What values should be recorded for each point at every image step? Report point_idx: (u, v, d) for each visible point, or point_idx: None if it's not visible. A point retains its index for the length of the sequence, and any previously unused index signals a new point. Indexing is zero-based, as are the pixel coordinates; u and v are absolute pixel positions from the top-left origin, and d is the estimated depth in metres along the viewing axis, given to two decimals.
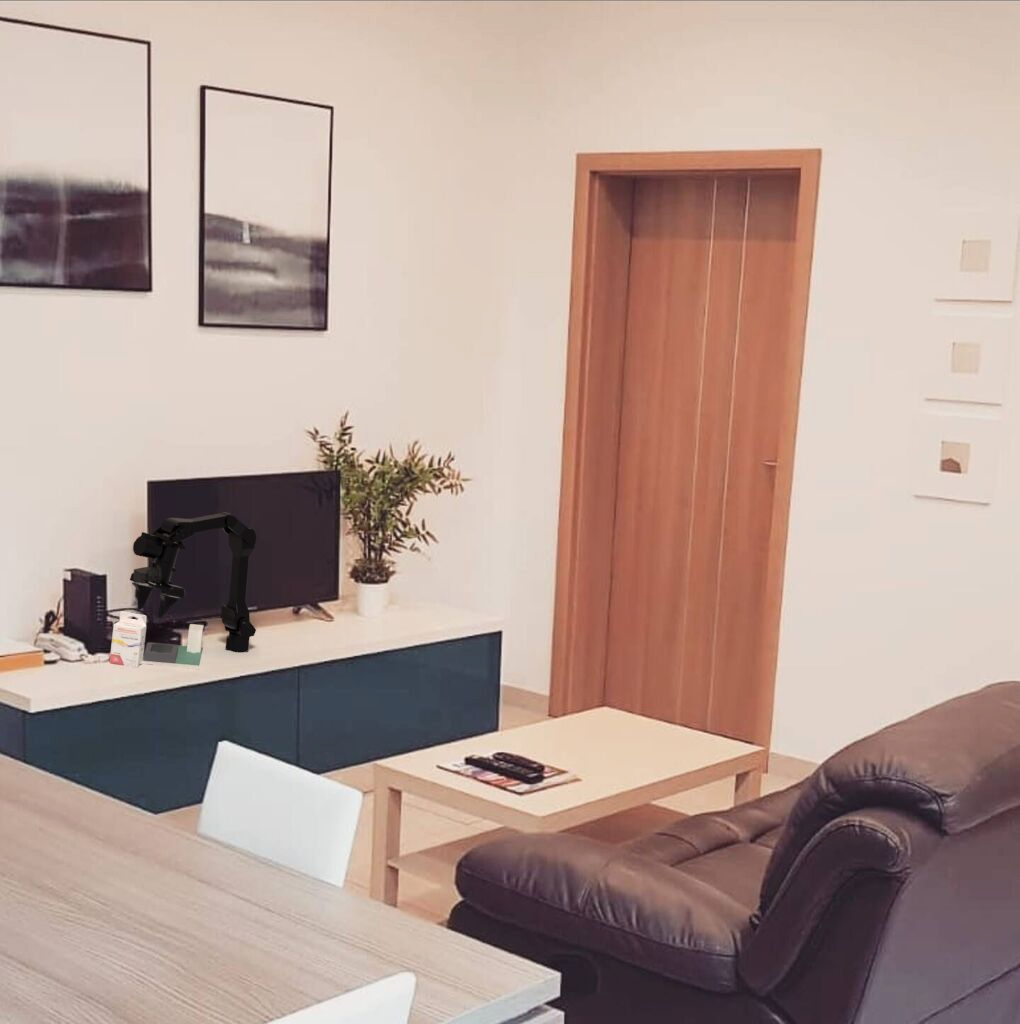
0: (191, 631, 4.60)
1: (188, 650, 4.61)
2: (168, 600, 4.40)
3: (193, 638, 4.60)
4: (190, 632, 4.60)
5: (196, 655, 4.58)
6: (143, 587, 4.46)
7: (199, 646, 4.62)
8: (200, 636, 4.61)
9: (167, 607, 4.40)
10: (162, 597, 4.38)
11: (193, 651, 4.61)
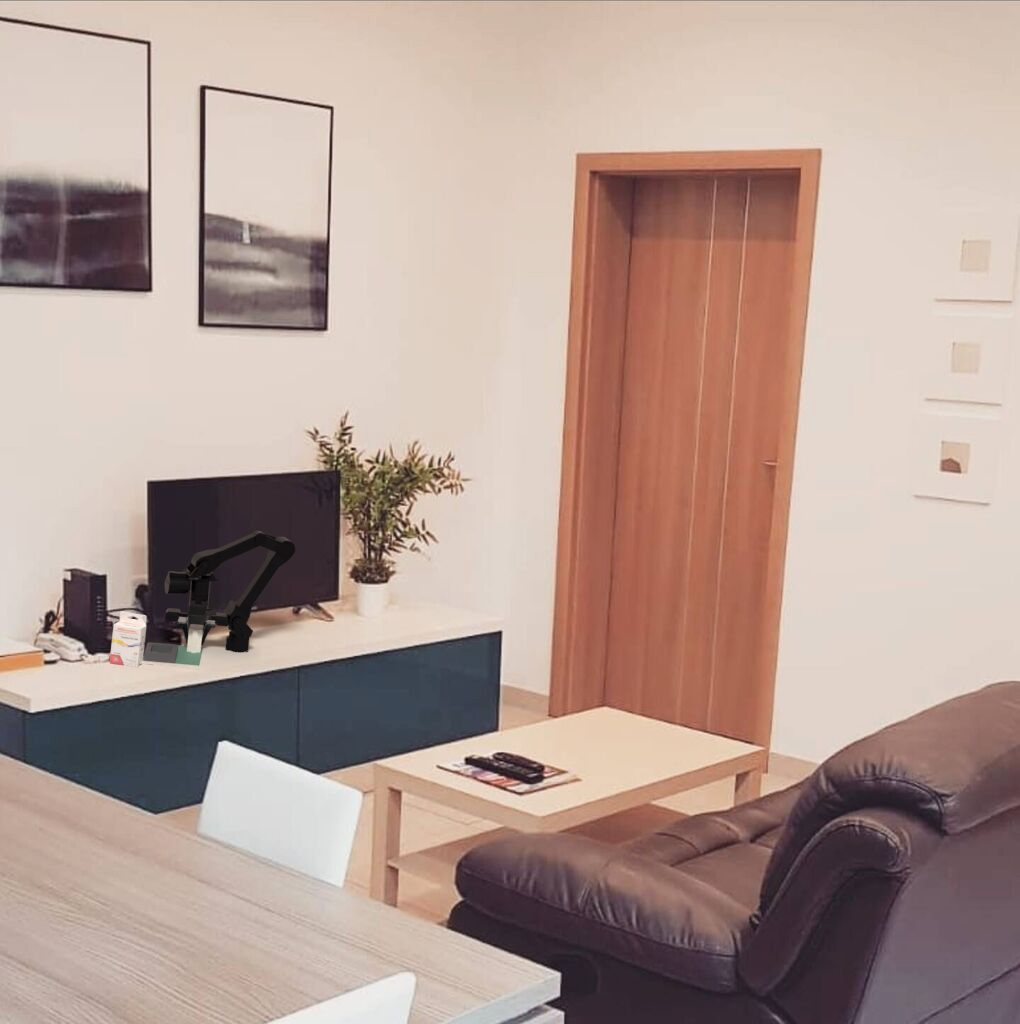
0: (191, 631, 4.60)
1: (188, 650, 4.61)
2: None
3: (193, 638, 4.60)
4: (190, 632, 4.60)
5: (196, 655, 4.58)
6: (187, 623, 4.62)
7: (199, 646, 4.62)
8: (200, 636, 4.61)
9: None
10: (208, 628, 4.62)
11: (193, 651, 4.61)
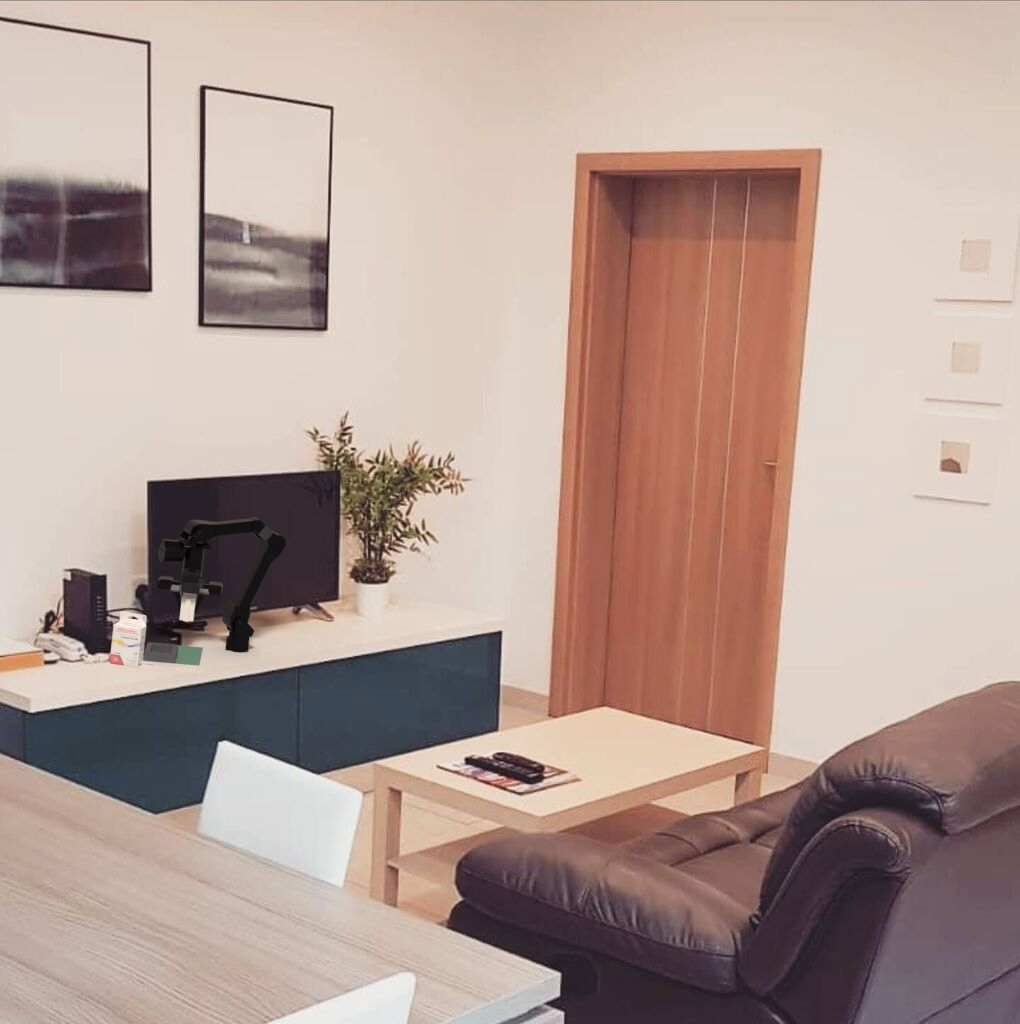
0: (184, 599, 4.55)
1: (181, 619, 4.56)
2: None
3: (186, 606, 4.55)
4: (183, 600, 4.55)
5: (196, 655, 4.58)
6: (180, 592, 4.57)
7: (192, 615, 4.56)
8: (193, 605, 4.56)
9: None
10: (201, 596, 4.57)
11: (186, 620, 4.55)
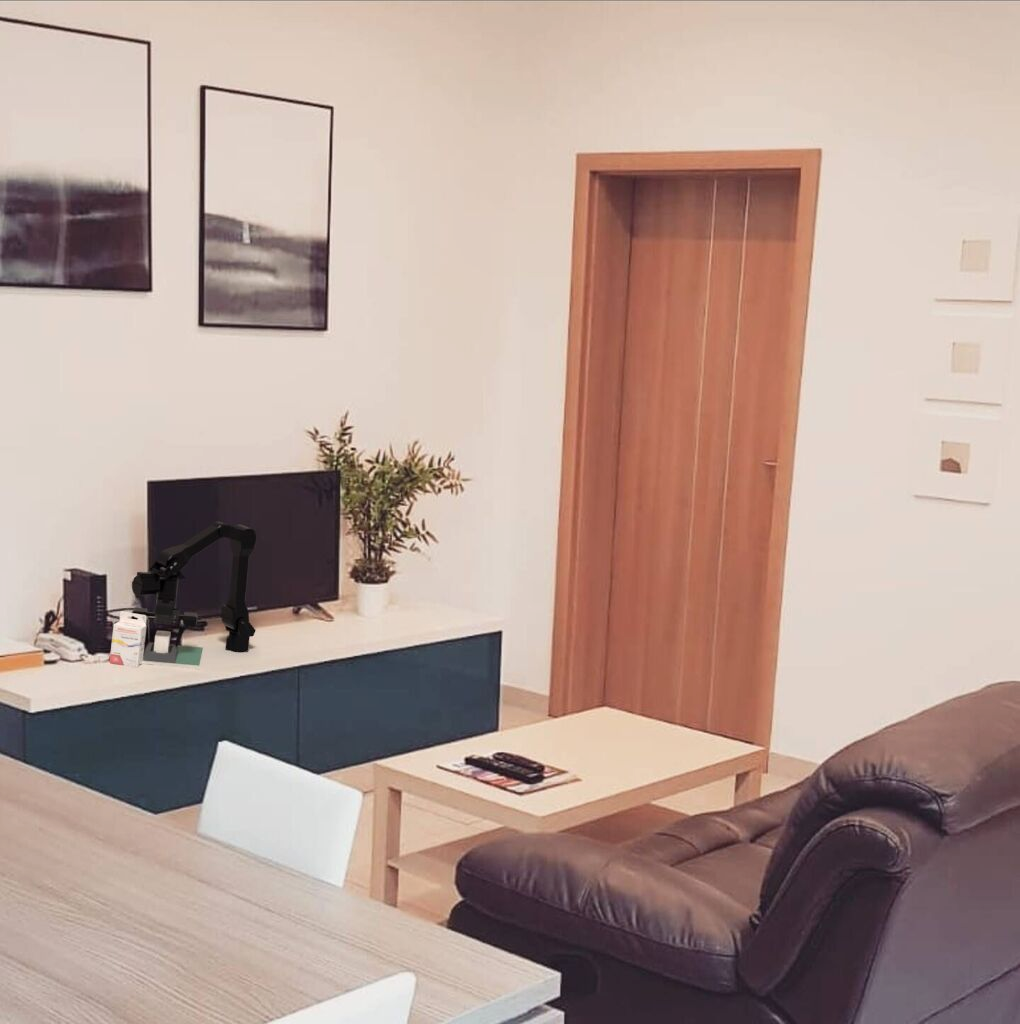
0: (157, 638, 4.48)
1: None
2: None
3: (159, 645, 4.48)
4: (156, 639, 4.48)
5: (196, 655, 4.58)
6: (148, 622, 4.50)
7: None
8: (167, 643, 4.49)
9: None
10: (182, 628, 4.50)
11: None
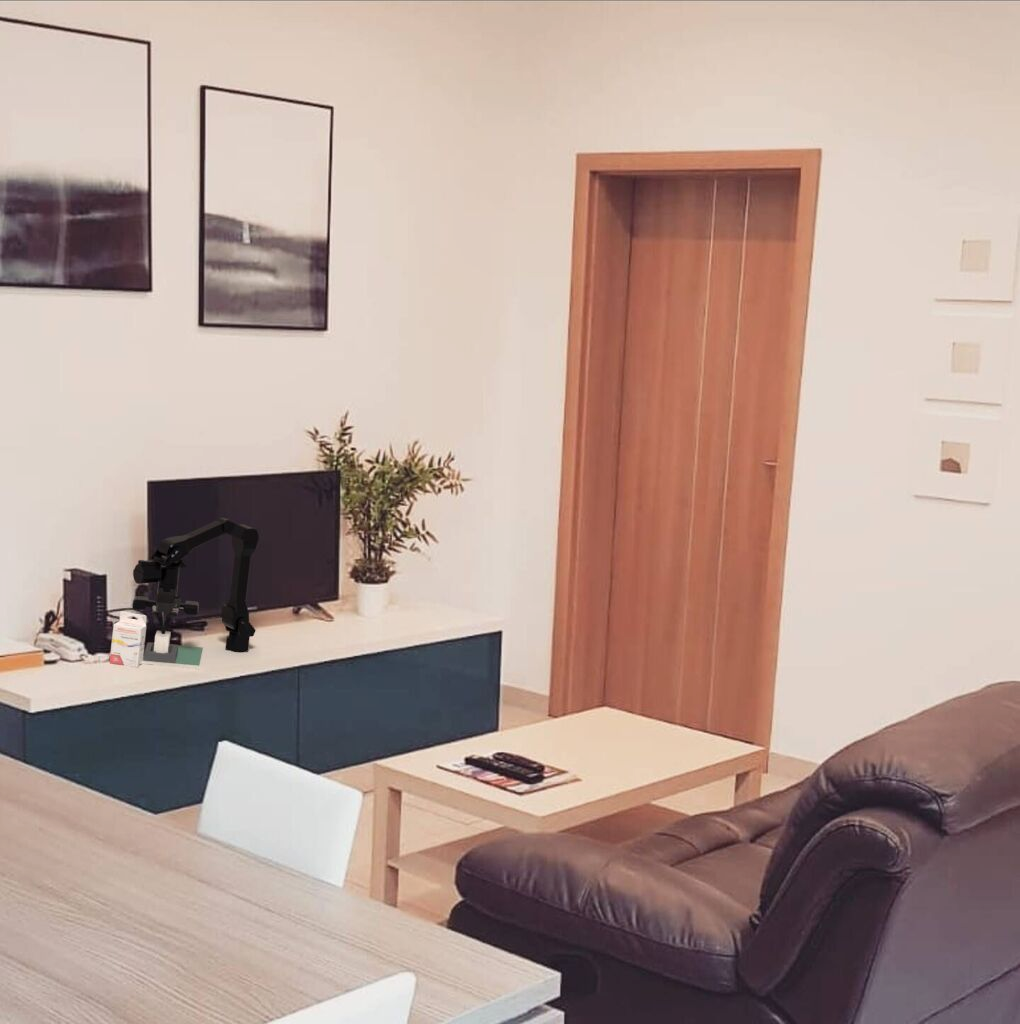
0: (157, 638, 4.48)
1: None
2: None
3: (159, 645, 4.48)
4: (156, 639, 4.48)
5: (196, 655, 4.58)
6: (162, 612, 4.50)
7: None
8: (167, 643, 4.49)
9: None
10: (170, 616, 4.48)
11: None
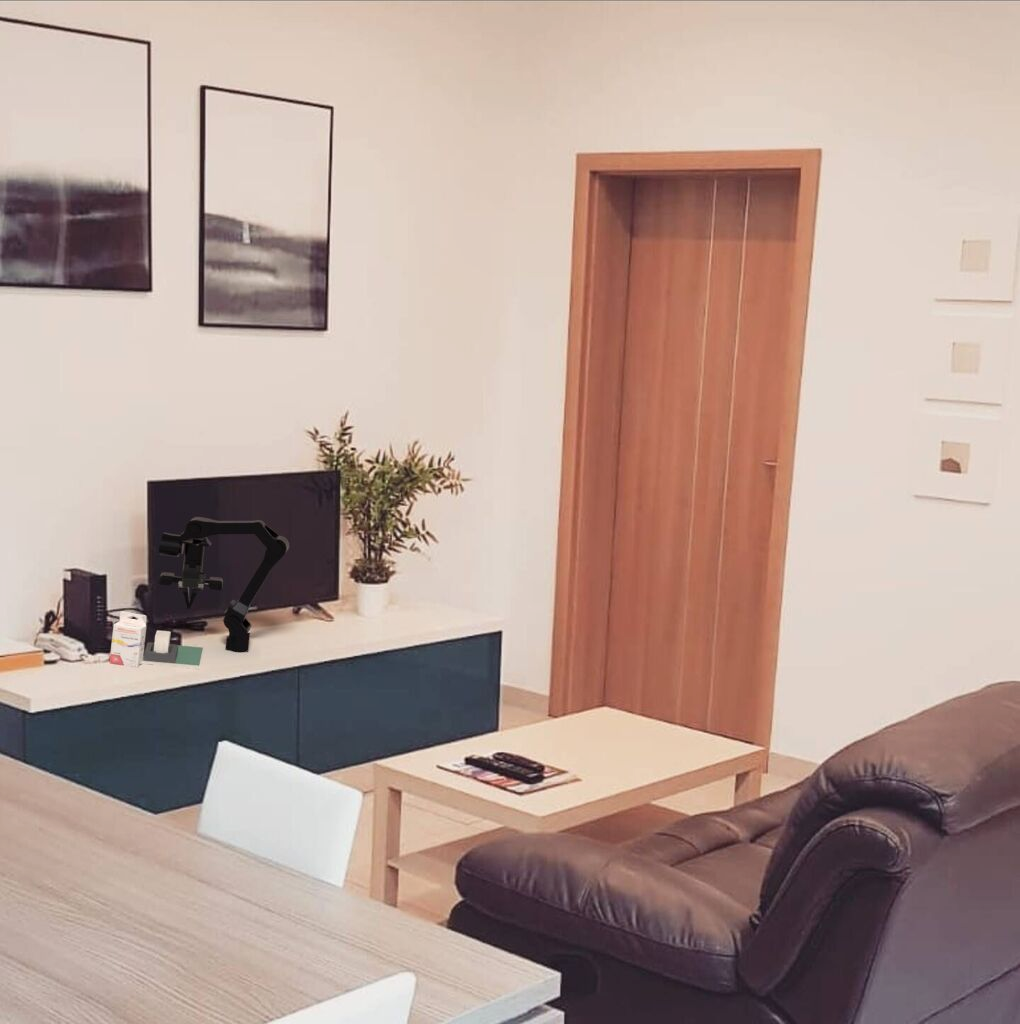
0: (157, 638, 4.48)
1: None
2: None
3: (159, 645, 4.48)
4: (156, 639, 4.48)
5: (196, 655, 4.58)
6: (188, 588, 4.67)
7: None
8: (167, 643, 4.49)
9: None
10: (195, 591, 4.65)
11: None
